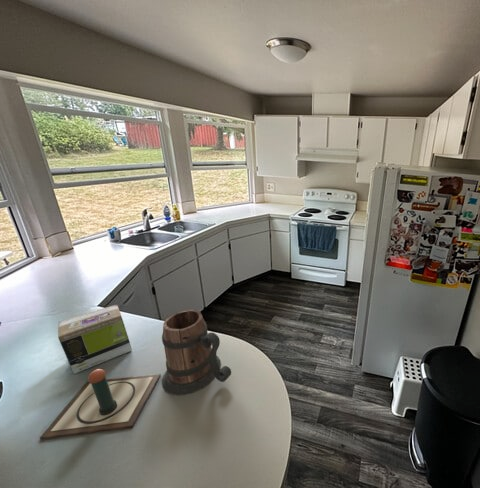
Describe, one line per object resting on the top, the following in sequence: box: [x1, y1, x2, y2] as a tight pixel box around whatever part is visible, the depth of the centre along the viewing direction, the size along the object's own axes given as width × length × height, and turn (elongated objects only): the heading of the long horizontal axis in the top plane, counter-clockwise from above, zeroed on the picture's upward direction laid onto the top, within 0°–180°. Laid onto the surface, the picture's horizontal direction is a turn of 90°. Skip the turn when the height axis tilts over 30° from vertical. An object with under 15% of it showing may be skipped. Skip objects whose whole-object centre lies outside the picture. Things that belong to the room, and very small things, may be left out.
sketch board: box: [39, 373, 161, 441], centre depth 69 cm, size 20×16×1 cm
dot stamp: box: [87, 368, 117, 415], centre depth 64 cm, size 4×4×13 cm
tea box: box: [57, 304, 133, 375], centre depth 83 cm, size 15×10×15 cm
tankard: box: [161, 309, 232, 396], centre depth 76 cm, size 24×17×20 cm
